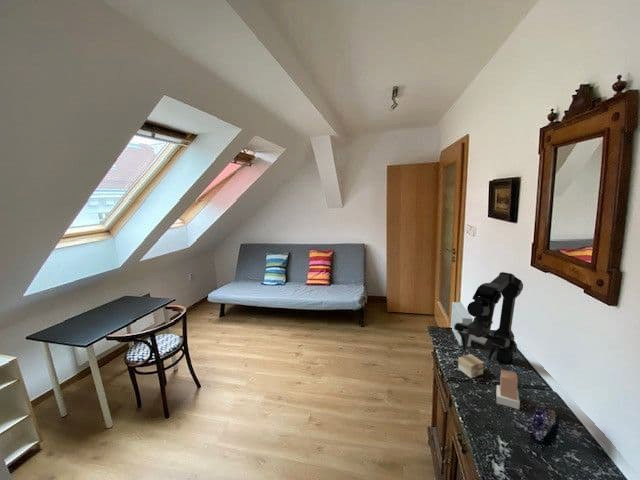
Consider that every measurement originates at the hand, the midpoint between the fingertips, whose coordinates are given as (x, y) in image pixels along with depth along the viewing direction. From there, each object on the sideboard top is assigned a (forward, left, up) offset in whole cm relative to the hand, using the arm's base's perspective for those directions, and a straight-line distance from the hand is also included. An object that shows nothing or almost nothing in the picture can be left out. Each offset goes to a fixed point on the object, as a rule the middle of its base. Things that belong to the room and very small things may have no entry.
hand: (476, 355), depth 111 cm
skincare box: (-9, -43, -16) cm, 47 cm away
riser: (-10, +4, -16) cm, 20 cm away
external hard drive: (-18, -42, -17) cm, 49 cm away
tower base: (-3, -13, -17) cm, 21 cm away
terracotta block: (-10, +4, -13) cm, 17 cm away
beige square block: (-3, -13, -14) cm, 19 cm away
